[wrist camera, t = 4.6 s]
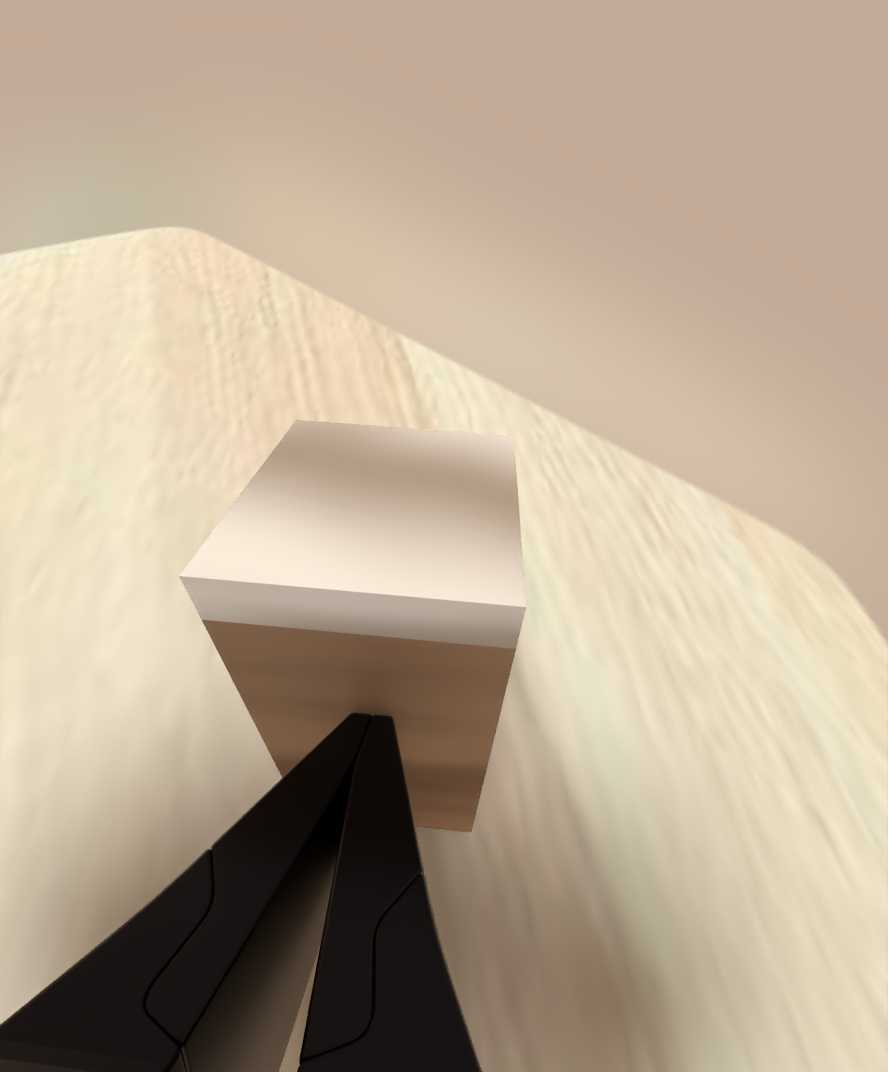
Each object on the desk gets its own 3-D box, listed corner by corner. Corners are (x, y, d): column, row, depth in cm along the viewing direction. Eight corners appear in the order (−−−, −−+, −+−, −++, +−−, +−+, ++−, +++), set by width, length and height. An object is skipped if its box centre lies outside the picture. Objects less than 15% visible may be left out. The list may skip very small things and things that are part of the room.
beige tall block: (471, 832, 13) (526, 606, 6) (300, 813, 13) (179, 575, 6) (476, 677, 16) (514, 436, 10) (344, 664, 17) (296, 419, 10)
